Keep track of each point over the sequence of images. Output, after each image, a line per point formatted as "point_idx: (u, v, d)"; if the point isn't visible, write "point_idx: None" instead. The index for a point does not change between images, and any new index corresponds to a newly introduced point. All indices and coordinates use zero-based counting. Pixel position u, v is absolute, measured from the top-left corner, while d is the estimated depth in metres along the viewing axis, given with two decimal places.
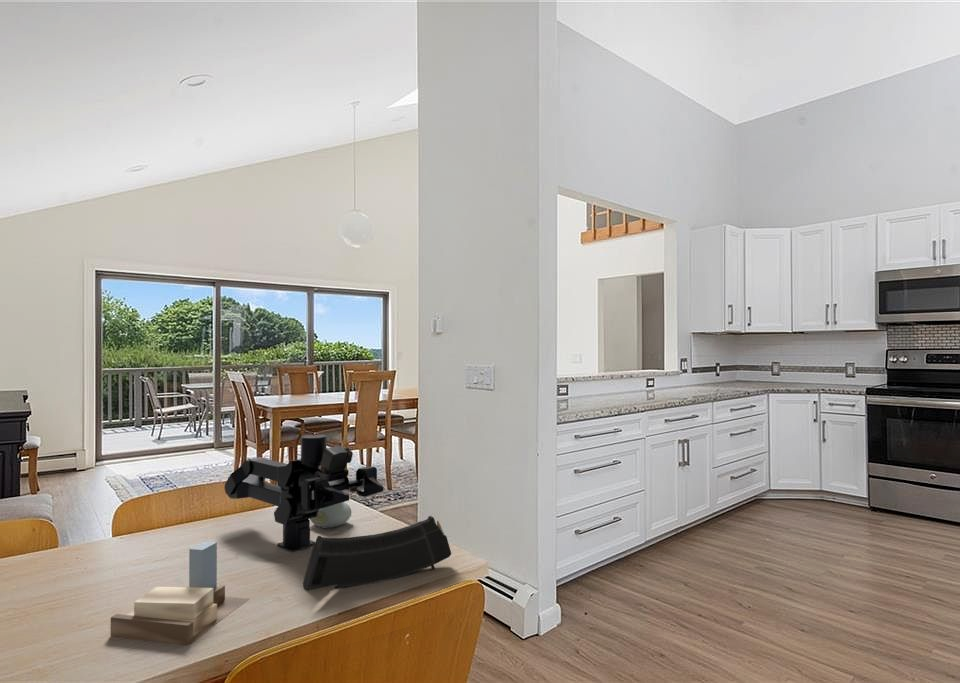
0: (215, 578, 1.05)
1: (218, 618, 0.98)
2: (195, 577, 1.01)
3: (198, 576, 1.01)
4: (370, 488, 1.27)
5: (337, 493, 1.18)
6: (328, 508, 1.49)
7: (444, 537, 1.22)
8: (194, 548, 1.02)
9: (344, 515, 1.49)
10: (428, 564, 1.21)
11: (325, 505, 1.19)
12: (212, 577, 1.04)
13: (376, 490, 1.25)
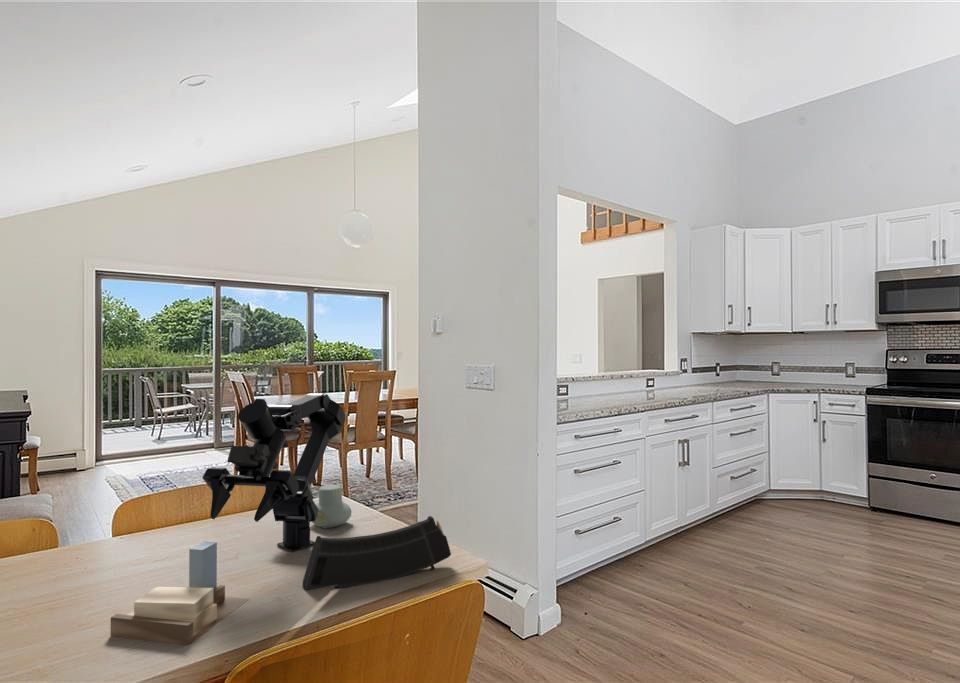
0: (215, 578, 1.05)
1: (218, 618, 0.98)
2: (195, 577, 1.01)
3: (198, 576, 1.01)
4: None
5: None
6: (328, 508, 1.49)
7: (444, 537, 1.22)
8: (194, 548, 1.02)
9: (344, 515, 1.49)
10: (428, 564, 1.21)
11: None
12: (212, 577, 1.04)
13: None
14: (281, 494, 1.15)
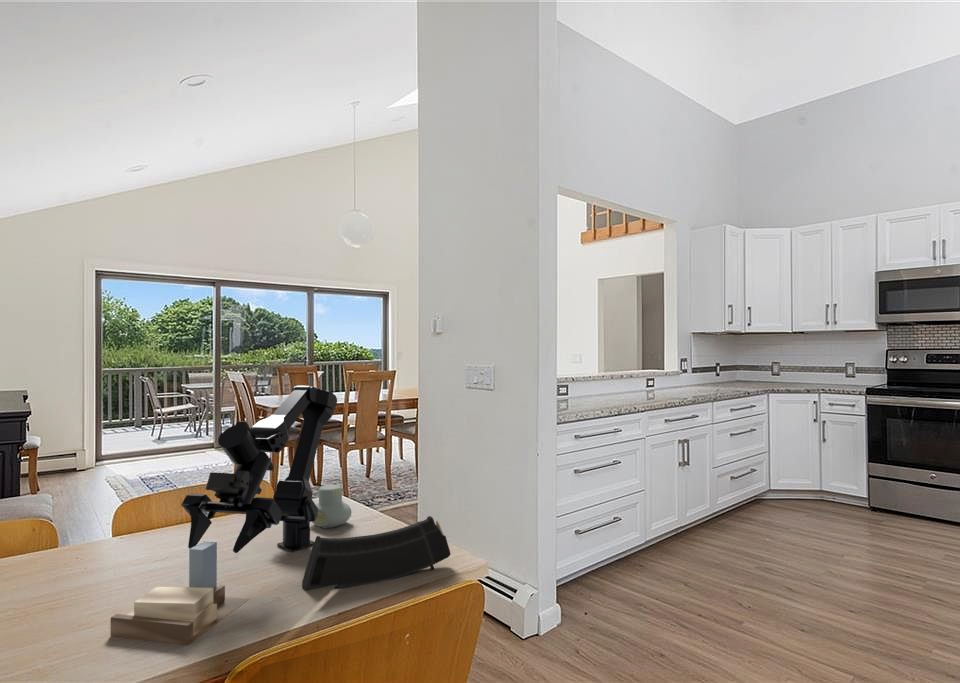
0: (215, 578, 1.05)
1: (218, 618, 0.98)
2: (195, 577, 1.01)
3: (198, 576, 1.01)
4: None
5: None
6: (328, 508, 1.49)
7: (443, 537, 1.22)
8: (194, 548, 1.02)
9: (344, 515, 1.49)
10: (428, 564, 1.21)
11: None
12: (212, 577, 1.04)
13: None
14: (262, 522, 1.10)
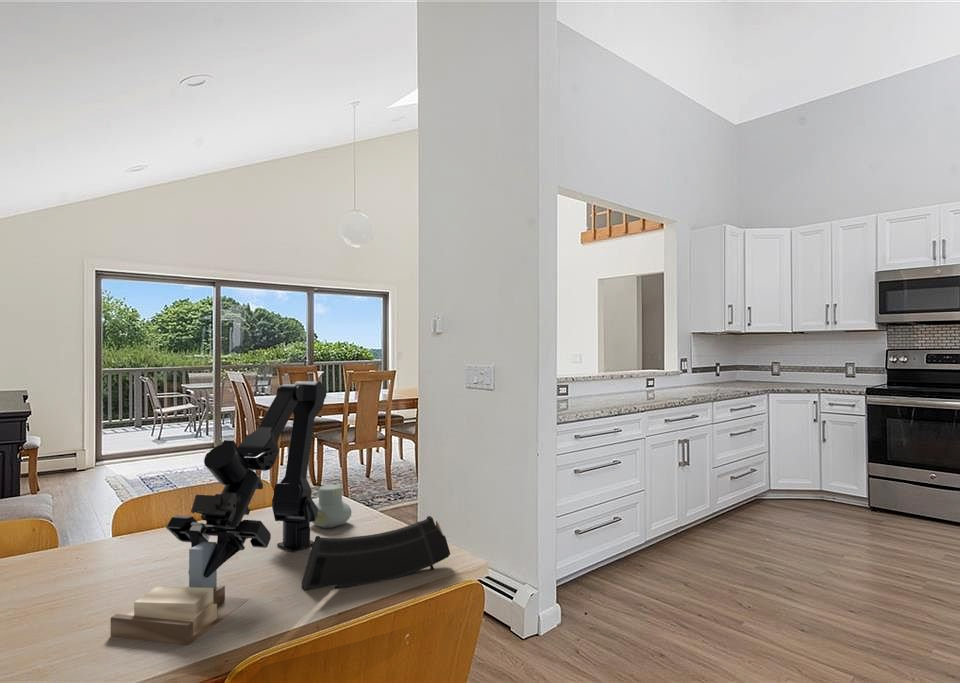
0: (215, 578, 1.05)
1: (218, 618, 0.98)
2: (195, 577, 1.01)
3: (198, 576, 1.01)
4: None
5: None
6: (328, 508, 1.49)
7: (443, 537, 1.22)
8: (194, 548, 1.02)
9: (344, 515, 1.49)
10: (427, 564, 1.20)
11: None
12: (212, 577, 1.04)
13: None
14: (235, 545, 1.06)
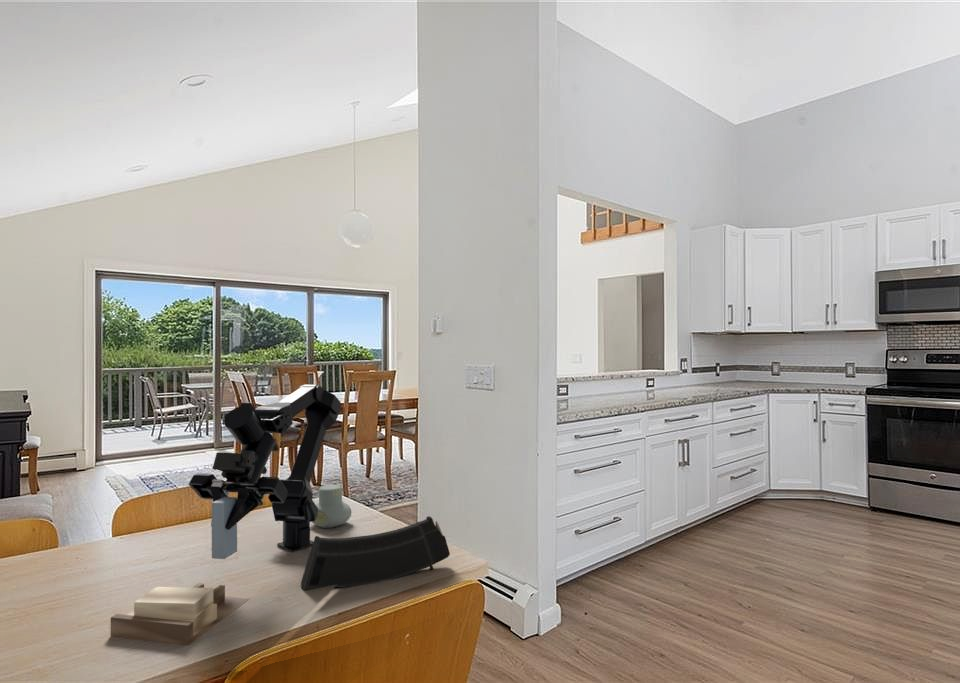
0: (235, 531, 1.11)
1: (218, 618, 0.98)
2: (217, 529, 1.07)
3: (220, 528, 1.07)
4: None
5: None
6: (328, 508, 1.49)
7: (442, 537, 1.22)
8: (216, 502, 1.08)
9: (344, 515, 1.49)
10: (427, 564, 1.20)
11: None
12: (233, 530, 1.10)
13: None
14: (254, 500, 1.12)
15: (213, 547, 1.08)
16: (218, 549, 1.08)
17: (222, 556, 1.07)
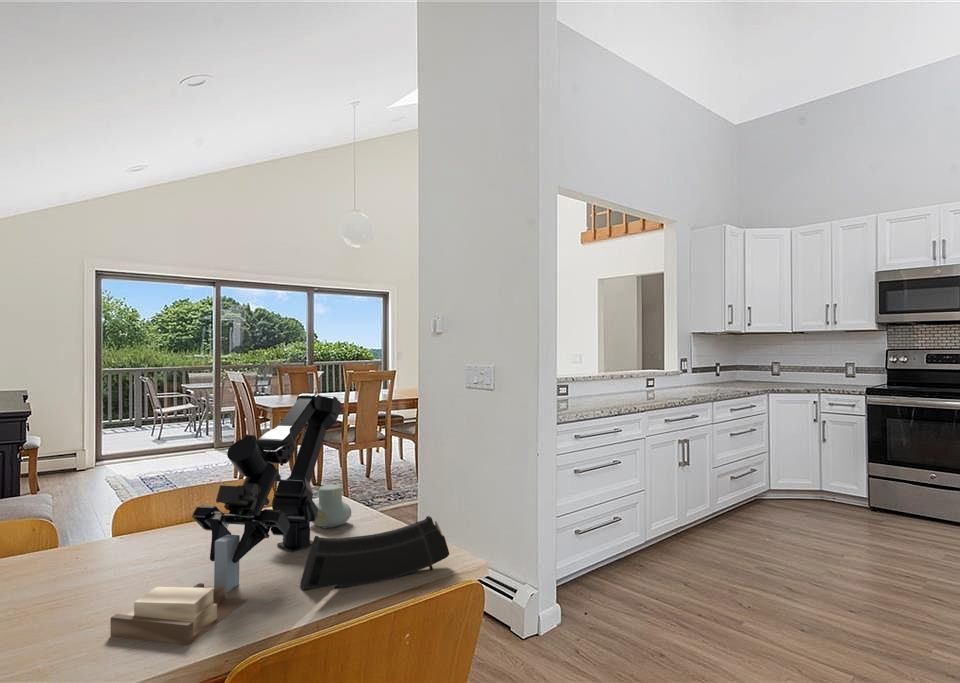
0: (238, 569, 1.12)
1: (218, 618, 0.98)
2: (220, 567, 1.08)
3: (223, 567, 1.08)
4: None
5: None
6: (328, 508, 1.49)
7: (442, 537, 1.22)
8: (219, 540, 1.09)
9: (344, 515, 1.49)
10: (426, 564, 1.20)
11: None
12: (236, 568, 1.11)
13: None
14: (260, 533, 1.13)
15: (215, 585, 1.08)
16: None
17: None
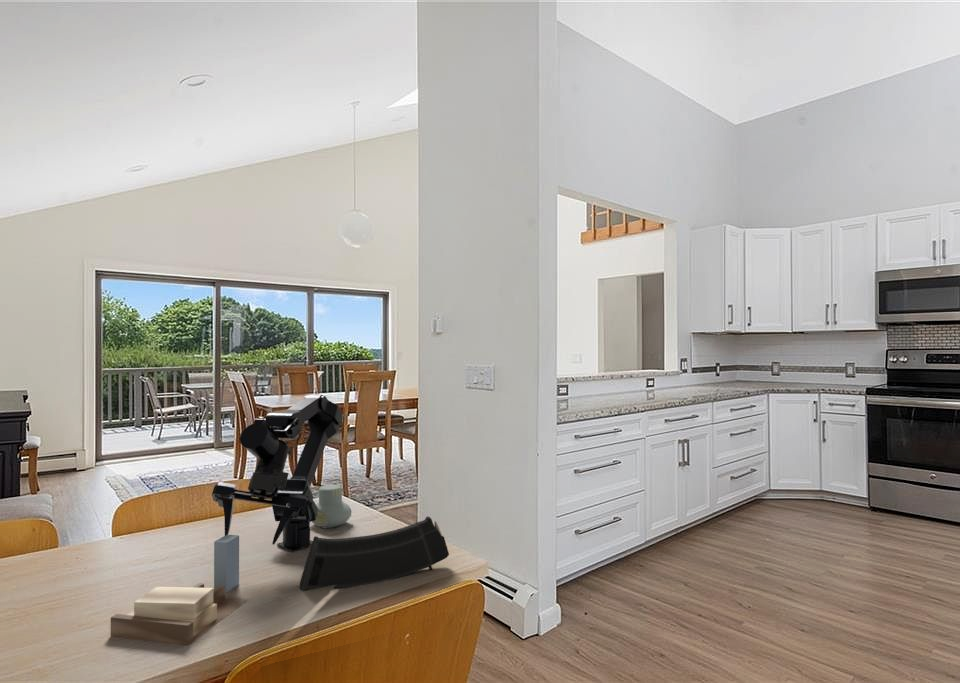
0: (238, 569, 1.12)
1: (218, 618, 0.98)
2: (220, 568, 1.08)
3: (222, 567, 1.08)
4: None
5: None
6: (328, 508, 1.49)
7: (442, 538, 1.22)
8: (218, 541, 1.09)
9: (344, 515, 1.49)
10: (426, 565, 1.20)
11: None
12: (235, 568, 1.11)
13: None
14: (293, 515, 1.21)
15: (215, 586, 1.08)
16: None
17: None
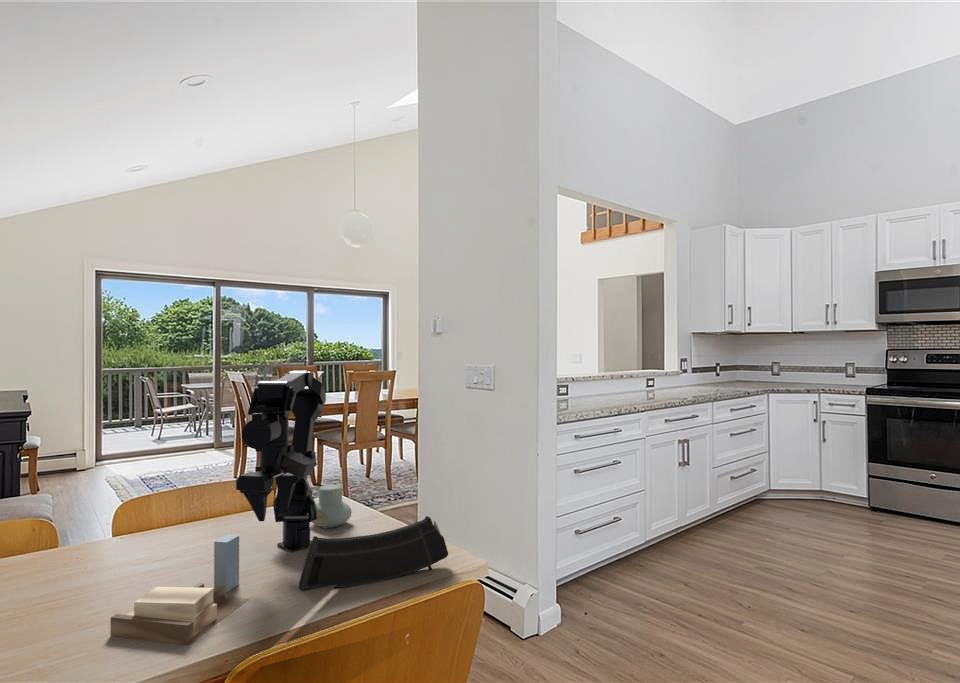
0: (238, 569, 1.12)
1: (218, 618, 0.98)
2: (220, 568, 1.08)
3: (222, 567, 1.08)
4: (283, 488, 1.25)
5: (262, 510, 1.15)
6: (328, 508, 1.49)
7: (441, 537, 1.22)
8: (219, 541, 1.09)
9: (344, 515, 1.49)
10: (425, 564, 1.20)
11: (247, 497, 1.15)
12: (235, 568, 1.11)
13: (282, 499, 1.25)
14: None
15: (215, 586, 1.08)
16: None
17: None
